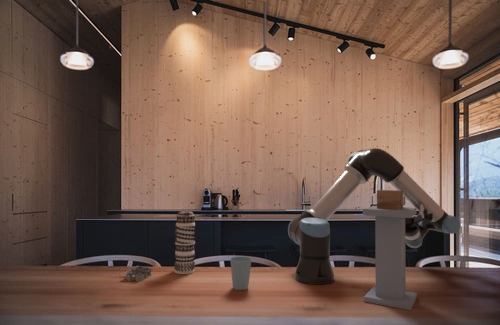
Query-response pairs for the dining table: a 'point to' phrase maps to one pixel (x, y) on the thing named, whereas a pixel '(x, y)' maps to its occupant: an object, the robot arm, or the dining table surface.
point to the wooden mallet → (390, 199)
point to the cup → (240, 272)
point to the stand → (390, 258)
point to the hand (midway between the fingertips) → (402, 206)
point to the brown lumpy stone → (138, 273)
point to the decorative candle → (185, 242)
